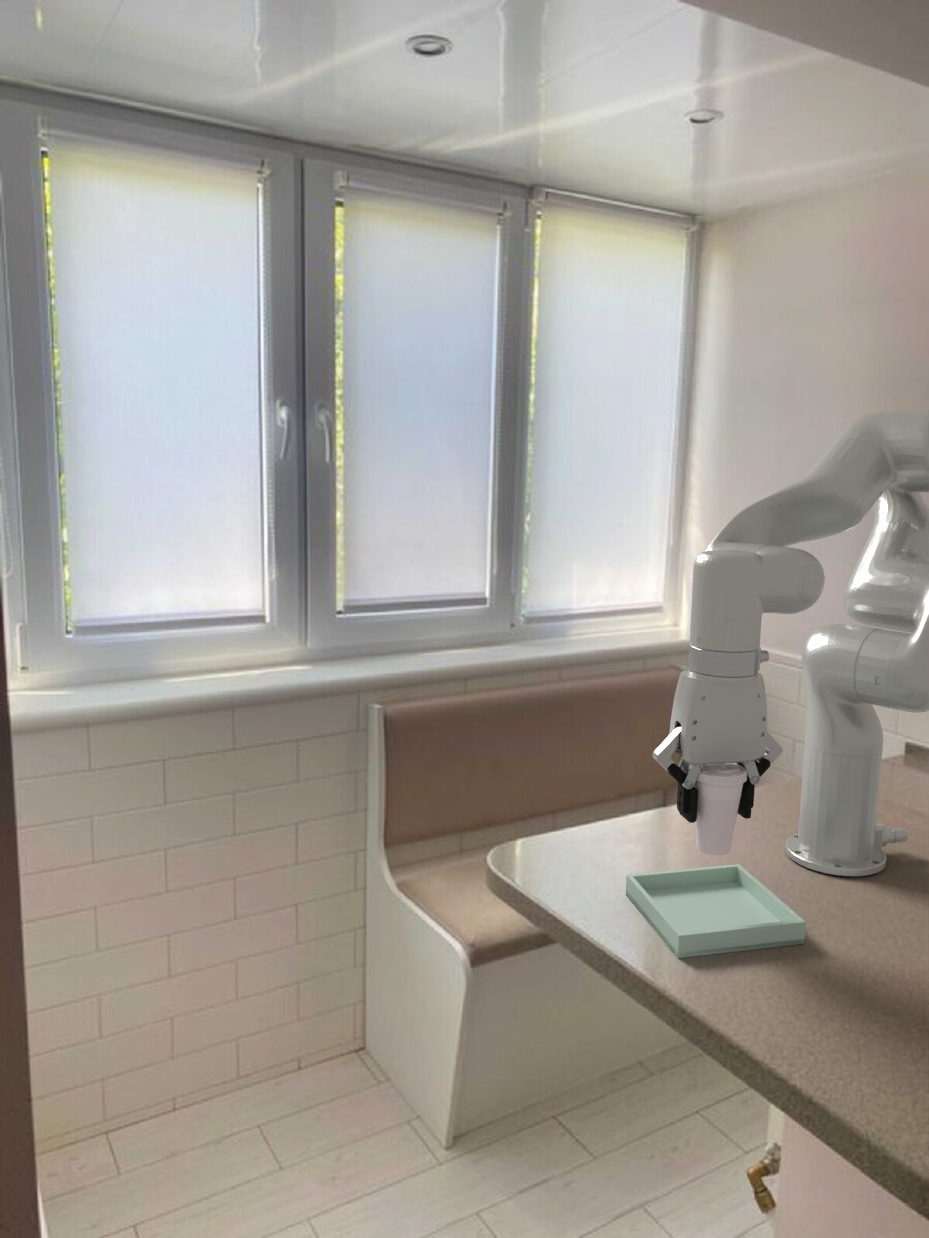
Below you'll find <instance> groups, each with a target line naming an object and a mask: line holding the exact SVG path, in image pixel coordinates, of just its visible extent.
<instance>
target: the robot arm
mask: <svg viewBox="0 0 929 1238" xmlns="http://www.w3.org/2000/svg"><path fill="white" fill-rule="evenodd" d="M921 493H929V410H920V411H919V410H917V411H916V410H915V411H885V412H884V411H883V412H872V413H868V414H865V415H861V416H859V417H857V418H855V419H854V420H852V422H850V423H849V424H848V425H847V426H846V427H845V429H843V431H842V432H841V433H840V434H839V436H838V437H837V438H836V439H835V440H834V441H833V443H832V444H831V445H830V446H829V447H828V448H827V450H826V451H825V452H824V453H823V455H822V456H821V457H820V458H819V459H818V461H817V462H816V463H815V464H814V465H813V466H812V467H811V469H810V470H809V471H808V473H807V474H806V475H805V476H803V478H802V479H801V480H798V481H797V482H794V483H792V484H790V485H787V486H785V487H783V488H781V489H779V490H776V491H775V492H773V493H771V494H769V495H768V496H765V497H763V498H761V499H758V500H757V501H755V502H753V503H752V504H750V505H748V506H746V507H745V508H743V509H742V510H740V511H738V512H737V513H736V514H734V516H732V518H730V519H729V520H728V521H727V522H726V523H725V525H724V526H723V527H722V528H721V529H720V530H719V532H717V533H716V534H715V536H714V538H712V540H711V541H710V543H709V544H708V545H707V547H706V548H705V550H704V551H703V552H700V553H699V554H698V555H697V556H696V558H695V559H694V562H693V570H692V571H693V572H692V585H691V587H692V588H691V589H692V590H691V607H690V608H691V609H690V610H691V611H690V625H689V626H690V629H689V648H688V665H687V666H688V667H687V669H688V670H682V671H681V672H680V674H679V678H678V681H677V685H676V689H675V692H674V697H673V702H672V703H673V704H672V708H671V717H670V724H669V733H668V736H667V737H666V738H665V739H664V740H663V741H662V742H661V744H660V745H659V746H658V747H656V748H655V749H654V751H653V752H652V754H651V755H652V758H653V759H654V760H655V761H656V762H657V763H658V764H659V765H660V766H661V767H662V768H663V769H664V770H665V771H666V772H667V773H668V774H669V776H671V777H672V778H673V780H674V781H676V782H677V790H676V791H677V795H676V808H677V811H678V812H679V815H680V816H681V817H682V818H683V819H685V820H686V821H687V822H688V823H690V824H691V823H694V824H695V821H696V820H697V805H698V790H697V789H696V788H695V787H694V783H695V781H696V779H697V776H698V774H699V772H700V769H701V767H702V765H705V764H723V763H736V764H738V765H741V766H742V767H744V768H745V770H746V771H747V781H745V782H744V783H743V787H742V793H741V797H740V802H739V807H738V812H737V815H740V816H741V817H742V818H743V819H746V820H747V819H751V818H752V809H753V807H754V804H755V803H754V801H755V789H756V788H755V787H756V786H755V785H759V783H760V781H761V777H762V776H763V775H764V774H765V772H767V771H768V769H770V767H771V765H772V763H774V762H775V761H776V760H777V759H778V758H779V757H780V756H781V755H782V753H783V751H784V750H783V747H782V746H781V745H780V744H779V742H777V740H776V739H775V738H774V737H773V736H772V735H771V734H770V733H769V731H768V707H767V706H768V705H767V693H766V687H765V682H764V676H763V674H761V673H760V672H759V671H760V669H761V664H762V663H768V662H769V660H770V655H769V654H770V653H769V651H768V650H765V649H764V650H762V648H761V647H760V646H761V633H762V632H761V631H762V617H763V615H764V614H778V615H780V614H781V615H794V614H798V613H799V614H800V613H802V612H804V611H807V610H808V609H809V608H811V607H812V606H814V604H815V603H816V602H818V600H819V599H820V597H821V595H822V593H823V591H824V587H825V579H826V577H825V576H826V575H825V571H824V568H823V565H822V564H821V562H820V561H819V559H818V558H817V557H815V555H814V554H811V552H808V551H806V550H804V549H800V548H796V547H789V546H791V545H792V546H793V545H795V544H800V543H804V542H805V543H806V542H810V541H811V542H812V541H814V540H815V541H817V540H821V539H825V538H828V537H831V536H835V535H839V534H841V533H845V532H847V531H850V530H851V529H854V528H856V526H858V525H859V524H860V523H861V522H862V521H863V519H864V518H865V517H866V516H867V514H869V511H870V510H871V509H872V507H873V511H874V513H873V514H874V519H873V525H872V528H871V531H870V533H869V536H868V538H867V541H866V542H865V544H864V547H863V549H862V551H861V553H860V556H859V557H858V559H857V561H856V565H854V568H853V571H852V573H851V575H850V576H849V577H850V578H849V580H848V582H847V585H846V588H845V590H844V593H843V608H844V610H845V613H846V615H848V616H849V617H850V618H851V619H852V620H854V621H855V622H858V623H860V624H863V625H865V626H863V625H857V624H850V623H848V624H847V623H831V624H827V625H823V626H820V627H819V628H816V629H815V630H813V631H812V632H811V633H810V634H809V636H808V637H807V639H806V640H805V642H804V645H803V647H802V654H801V669H802V677H803V682H804V694H805V712H806V713H805V730H804V731H805V732H804V746H803V749H804V750H803V760H802V761H803V762H802V776H801V791H800V802H799V803H800V805H799V806H800V807H799V819H798V822H799V823H798V832H797V833H793V834H791V835H790V836H789V837H788V838H787V839H786V841H785V844H784V845H785V847H784V850H785V853H786V855H787V856H788V857H789V858H790V859H792V861H794V862H795V863H797V864H799V865H800V866H802V867H805V868H807V869H809V870H812V871H815V872H818V873H823V874H826V875H832V876H833V875H834V876H841V877H867V876H871V875H875V874H877V873H880V872H881V871H883V870H884V869H885V868H886V865H887V855H886V853H885V851H884V850H883V849H882V847H886V846H887V845H888V844H899V843H906V842H907V841H908V837H909V836H908V832H907V830H906V829H905V828H904V827H894V828H889V829H887V826H886V824H884V823H877V819H878V808H879V796H880V795H879V794H880V784H881V783H880V782H881V774H882V773H881V770H882V760H883V759H882V758H883V751H884V749H883V748H884V747H883V746H884V732H883V727H882V723H881V721H880V718H879V715H878V714H877V712H876V710H875V707H874V706H879V707H882V708H888V709H892V710H897V711H901V712H908V713H914V714H916V713H919V714H920V713H927V712H928V711H929V506H927V505H926V502H925V501H924V499H923V497H922V495H921ZM870 626H871V627H870ZM907 632H908V633H907ZM673 754H676V755H680V756H681V758H680V760H679V763H678V765H677V764H676V762H674V760H673V759H672V755H673Z"/></svg>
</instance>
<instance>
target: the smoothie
mask: <svg viewBox="0 0 929 1238" xmlns="http://www.w3.org/2000/svg"><path fill="white" fill-rule="evenodd" d="M745 781H747V771H746V770H745V768H744V767H742V766H741V765H738V764H736V763H723V764H705V765H702V767H701V769H700V772H699V774H698V776H697V779H696V781H695V783H694V787H695V788H696V789H697V790H698V805H697V820H696V821H695V822H694V829H695V840H696V842H695V844H696V845H695V846H696V849H697V850H698V851H699V852H701V853H704V854H706V855H710V856H725V855H728V854H730V851H731V848H732V847H731V846H732V841H733V836H734V831H735V825H736V822H737V816H738V813H737V812H738V807H739V802H740V797H741V793H742V787H743V783H744V782H745Z"/></svg>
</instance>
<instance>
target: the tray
mask: <svg viewBox="0 0 929 1238" xmlns="http://www.w3.org/2000/svg"><path fill="white" fill-rule="evenodd" d="M625 879H626V880H625V896H626V897H627V898H628V899H629V900H630V902H631V903H632V904H633V905H634V907H635V908H636V909H637V910H638V912H639V913H640V914H641V915H642V917H643V918H644V917H645V918H644V919H645V921H646V922H647V923H648V924H649V925H650V926H651V927H652V929H653V930H654V931H655V933H657V935H658V936H659V937H660V939H661V940H662V941H663V942H664V943H665V945H666V944H667V945H666V946H667V947H668V948H669V950H670V951H671V952H672V951H673V952H672V953H673V954H674V956H675V955H676V956H675V957H676V958H677V959H683V958H692V957H701V956H710V955H718V954H727V953H734V952H743V951H754V950H761V949H762V950H763V949H769V948H779V947H788V946H795V945H796V946H797V945H804V944H805V938H806V936H805V935H806V924H807V923H806V921H805V920H804V918H802V917H801V916H800V915H798V914H797V913H796V912H795V911H794V910H793V909H792V908H790V907H789V906H788V905H787V904H786V903H785V902H784V901H782V900H781V899H780V898H779V897H778V896H777V895H775V894H774V893H773V892H772V891H771V890H770V889H768V888H767V887H766V885H764V884H763V883H762V882H760V881H759V880H758V879H757V878H756V877H754V876H753V875H752V874H751V873H750V872H749V871H748V870H746V869H745V867H743V866H742V865H741V864H740V863H737V864H728V865H727V864H726V865H724V864H723V865H715V866H706V867H704V866H703V867H697V868H694V867H693V868H683V869H674V870H664V871H653V872H652V871H651V872H641V873H632V874H626V877H625Z"/></svg>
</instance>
